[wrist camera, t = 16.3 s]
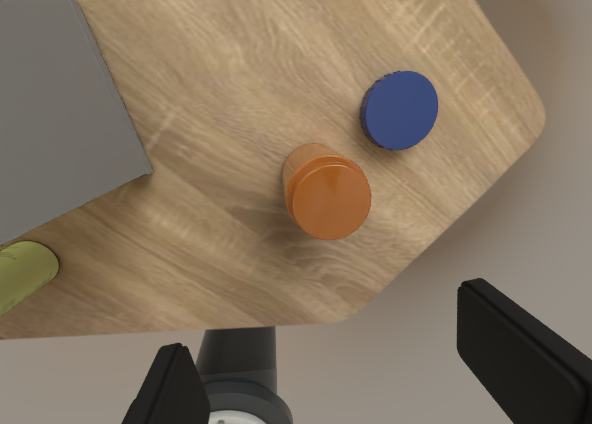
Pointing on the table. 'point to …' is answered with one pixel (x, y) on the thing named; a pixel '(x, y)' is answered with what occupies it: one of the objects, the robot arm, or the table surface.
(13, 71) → the tall grey upright box
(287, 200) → the jam jar
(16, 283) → the tube
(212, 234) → the table surface
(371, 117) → the jar lid
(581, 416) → the robot arm
